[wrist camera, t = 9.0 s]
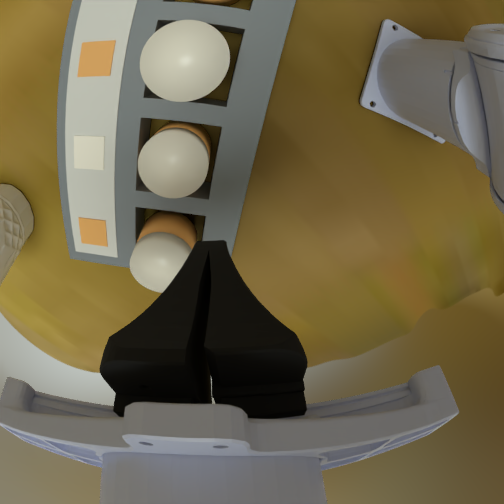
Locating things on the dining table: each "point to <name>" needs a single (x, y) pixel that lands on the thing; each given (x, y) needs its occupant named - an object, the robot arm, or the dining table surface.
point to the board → (152, 106)
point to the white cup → (13, 226)
